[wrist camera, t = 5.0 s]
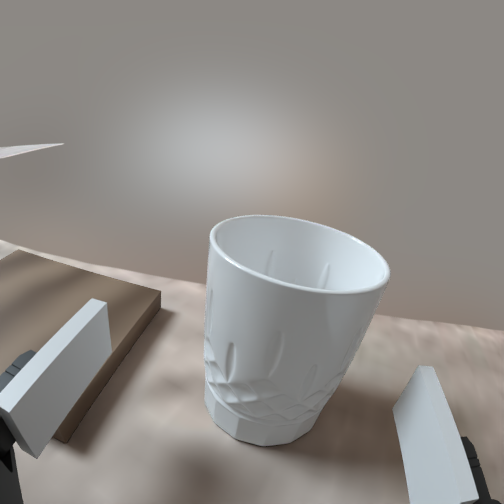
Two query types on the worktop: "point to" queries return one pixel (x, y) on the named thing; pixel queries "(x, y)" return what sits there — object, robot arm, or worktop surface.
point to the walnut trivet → (67, 316)
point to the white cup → (283, 321)
